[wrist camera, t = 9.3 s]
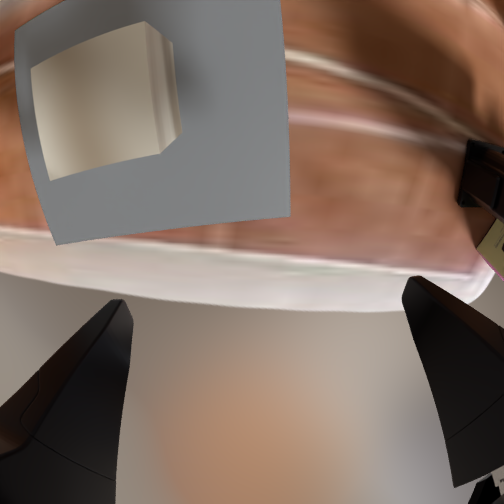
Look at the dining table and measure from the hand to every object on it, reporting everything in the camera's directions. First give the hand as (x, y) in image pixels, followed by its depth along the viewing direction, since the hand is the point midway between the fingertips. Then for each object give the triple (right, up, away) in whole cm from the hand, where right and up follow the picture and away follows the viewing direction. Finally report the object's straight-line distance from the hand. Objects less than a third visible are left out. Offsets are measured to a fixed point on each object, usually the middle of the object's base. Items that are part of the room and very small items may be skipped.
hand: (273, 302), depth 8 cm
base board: (-7, +11, +6) cm, 14 cm away
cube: (-7, +9, +3) cm, 12 cm away
